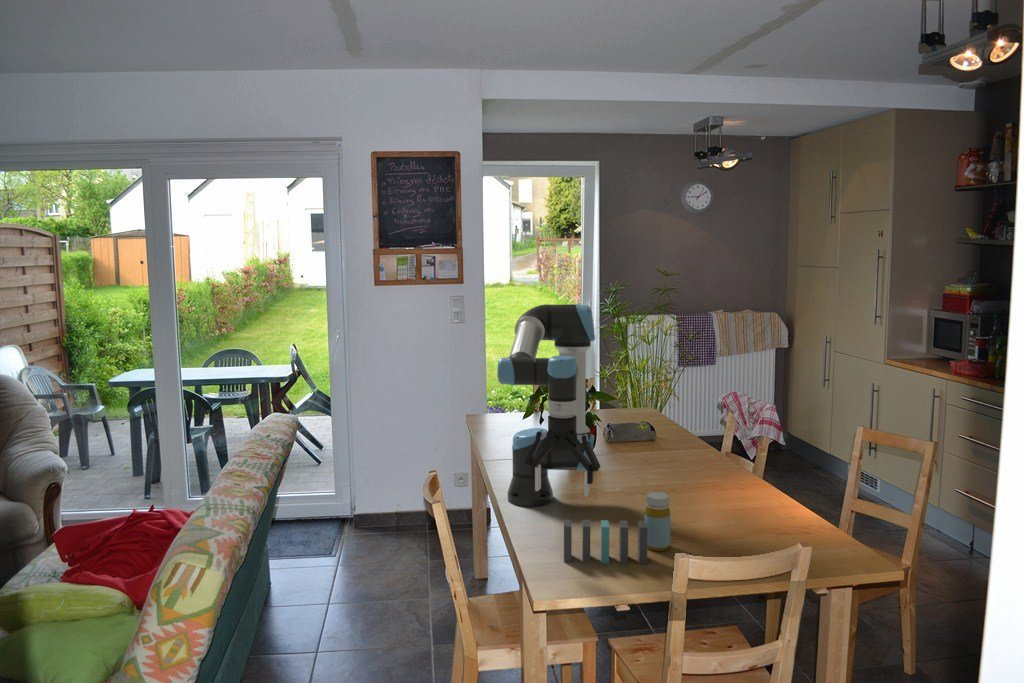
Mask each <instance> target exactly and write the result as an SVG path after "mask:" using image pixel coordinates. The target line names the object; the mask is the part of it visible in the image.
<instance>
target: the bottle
mask: <svg viewBox="0 0 1024 683" xmlns="http://www.w3.org/2000/svg"><path fill="white" fill-rule="evenodd" d="M645 497H646V500H645V501H646V504H645V505H646V506H645V508H644V521H646V524H647V527H648V535H647V550H650V551H654V552H663V551H666V550H667V549H669V548H670V546H671V545H670V544H671V543H670V542H671V510H670V495H669V494H668V493H666V492H662V491H650V492H648V493H646V496H645Z"/></svg>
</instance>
